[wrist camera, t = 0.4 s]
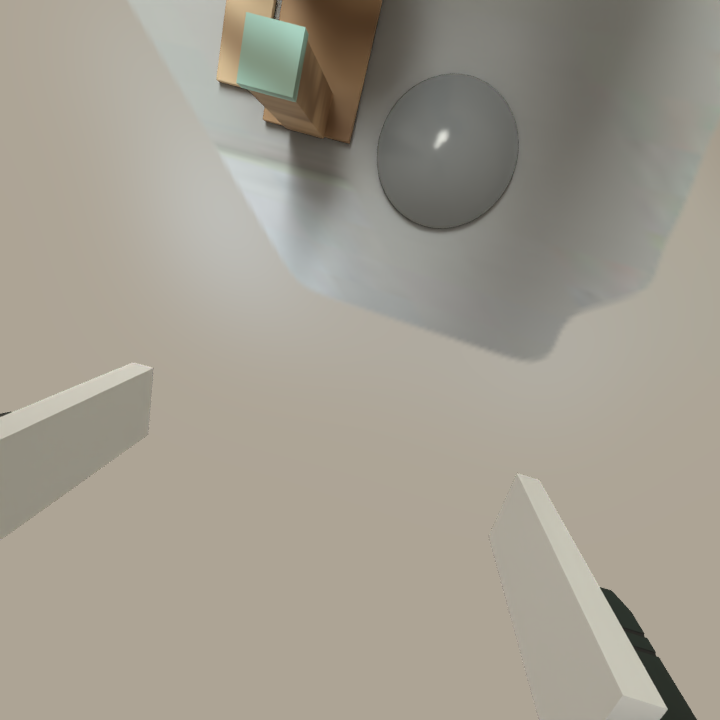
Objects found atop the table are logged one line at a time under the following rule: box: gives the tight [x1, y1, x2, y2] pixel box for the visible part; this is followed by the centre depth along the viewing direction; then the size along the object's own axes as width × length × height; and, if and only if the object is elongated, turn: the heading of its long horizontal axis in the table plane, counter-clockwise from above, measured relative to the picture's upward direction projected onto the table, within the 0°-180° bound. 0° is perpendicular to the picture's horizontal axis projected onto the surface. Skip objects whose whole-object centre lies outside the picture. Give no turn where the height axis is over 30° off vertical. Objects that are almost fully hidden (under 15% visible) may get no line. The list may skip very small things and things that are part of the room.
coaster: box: [377, 74, 518, 228], centre depth 33 cm, size 12×12×1 cm
